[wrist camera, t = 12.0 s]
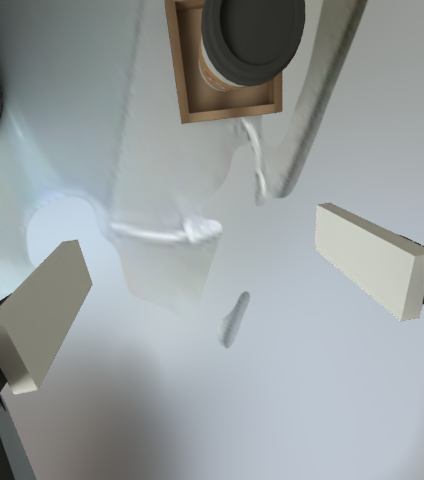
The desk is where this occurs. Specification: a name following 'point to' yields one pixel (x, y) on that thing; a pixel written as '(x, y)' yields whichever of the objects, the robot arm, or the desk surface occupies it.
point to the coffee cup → (248, 40)
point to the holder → (193, 85)
